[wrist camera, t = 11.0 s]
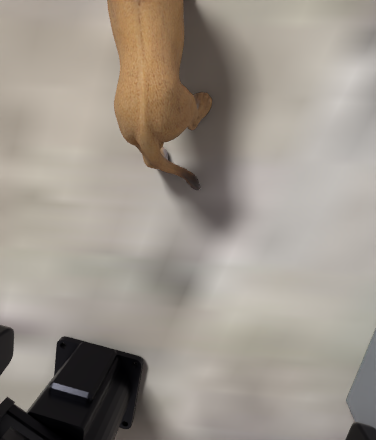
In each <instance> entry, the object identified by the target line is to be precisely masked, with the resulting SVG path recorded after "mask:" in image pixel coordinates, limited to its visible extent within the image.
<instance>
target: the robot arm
mask: <svg viewBox="0 0 376 440" xmlns="http://www.w3.org/2000/svg"><path fill="white" fill-rule="evenodd" d="M63 343H65V344H66V345H64V344H63ZM13 348H14V331H13V329H12V328H10V327H6V326H3V325H0V375H1V374H2V372H3V371H4V370H5V368H6V367H7V366H8V364H9V363H10V361H11V359H12V356H13ZM134 362H136V363H137V364H134ZM142 367H143V360H142V358H141V357H139V356H136V355H133V354H129V353H125V352H121V351H118V350H114V349H110V348H107V347H103V346H99V345H95V344H92V343H88V342H84V341H81V340H77V339H73V338H70V337H62V338H61V339H60V340H59V341H58V342H57V348H56V360H55V372H54V377H53V378H52V380H51V381H50V382H49V384H48V385H47V386H46V387H45V389H44V390H43V391H42V393H41V394H40V395H39V397H38V398H37V399H36V400H35V402H34V403H33V404H32V406H31V407H30V408H29V410H28V411H27V412H25V411H23V410H22V409H21V408H19V407H18V406H16V405H15V404H14V403H15V402H14V401H13V400H11V399H10V398H8V397H7V398H6V399H5V400H4V401H3V402H2V403H1V404H0V440H114V438H115V436H116V433H117V431H118V428H119V427H120V428H123V429H129V428H130V427H131V425H132V422H133V417H134V412H135V406H136V401H137V395H138V389H139V384H140V378H141V372H142ZM346 440H376V429H375V428H374V427H373V426H370V425H367V424H363V423H360V422H355V423H353V424H352V426H351V428H350V430H349V433H348V435H347V437H346Z"/></svg>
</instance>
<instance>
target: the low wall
mask: <svg viewBox="0 0 376 440" xmlns="http://www.w3.org/2000/svg"><path fill="white" fill-rule="evenodd" d="M346 401H347V404H348V406H349V408H350V411H351V413H352V415H353V418H354V420H355V422H360V423H363V424H367V425H370V426H373V427H374V428H375V429H376V330H375V332H374V334H373V337H372V339H371V342H370V344H369V346H368V349H367V351H366V354H365V356H364V358H363V361H362V363H361V366H360V368H359V370H358V373H357V375H356V378H355V380H354V382H353V385H352V387H351V390H350V392H349V394H348V397H347V399H346Z"/></svg>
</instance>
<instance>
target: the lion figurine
mask: <svg viewBox="0 0 376 440" xmlns="http://www.w3.org/2000/svg"><path fill="white" fill-rule="evenodd" d="M107 2H108V11H109V17H110V22H111V27H112V31H113V36H114V39H115V43H116V46H117V50H118V53H119V58H120V75H119V80H118V85H117V90H116V95H115V100H114V109H115V114H116V118H117V121H118V125H119V128H120V131H121V133H122V135H123V137H124V138H125V139H126V141H127V142H129V143H130V144H132V145H135V146H136V147H137V148H138V149H139V150H140V152H141V153H142V155H143V159H144V162H145V164H146V165H147V166H148V167H150V168H154V169H159V170H161V171H164V172H167V173H172V174H175V175H178V176H180V177H182V178H184V179H185V180H186V182H187V183H188V184H189V185H190V186H191V187H192V188H193V189H195V190H199V189H200V188H201V187H200V184H199V182H198V179H197V178H196V176H195V175H194V174H193V173H191V172H190V171H188V170H187V169H185V168H182V167H180V166H178V165H175V164H173V163H172V162H170V161H168V154H167V150H166V149H165V148H164V147H163V143H164V142H168V141H170V140H173V139H175V138H176V137H178V136H179V135H180V134H181V133H182V132H183V131H184V130H185V129H186V128H187V127H188V129H190V130H194V129H195V128H196V127H197V125H198V124H199V122H200V121H201V119H202V118H204V117H205V116H206V115H207V113H208V112H209V110H210V108H211V105H212V99H211V97H210V96H209V94H208V93H204V92H200V93H196V94H194V95H192V93H190V92H189V91H188V89H187V88H186V87H185V86H183V85H182V84H181V82H180V80H179V68H180V63H181V57H182V52H183V46H184V21H183V12H184V8H183V0H107Z"/></svg>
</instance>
